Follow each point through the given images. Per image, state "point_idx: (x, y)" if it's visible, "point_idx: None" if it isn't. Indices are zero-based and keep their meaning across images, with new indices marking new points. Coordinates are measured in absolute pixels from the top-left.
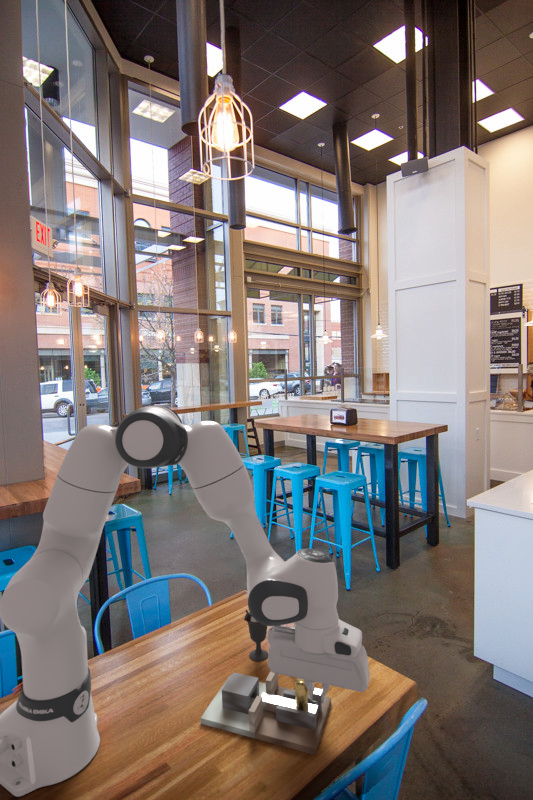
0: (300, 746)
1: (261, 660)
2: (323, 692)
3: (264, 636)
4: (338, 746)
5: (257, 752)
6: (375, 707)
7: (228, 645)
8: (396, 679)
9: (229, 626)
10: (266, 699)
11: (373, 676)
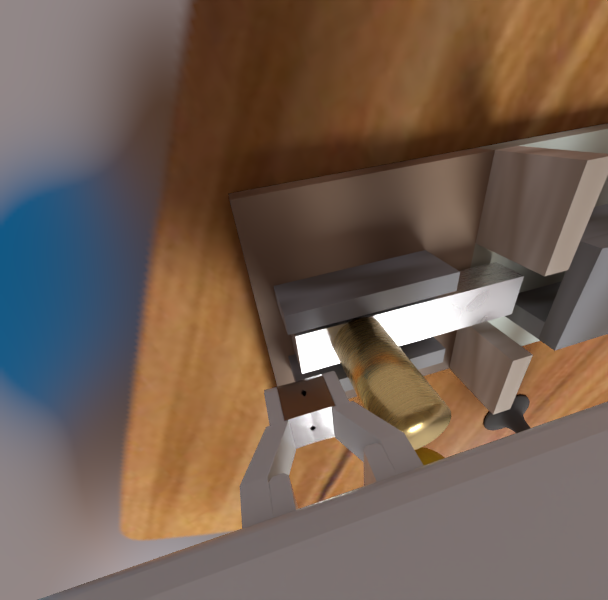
0: (296, 186)
1: None
2: (274, 443)
3: None
4: (167, 280)
5: (454, 79)
6: (153, 458)
7: (576, 396)
8: (160, 537)
9: None
10: (496, 294)
11: (218, 514)
